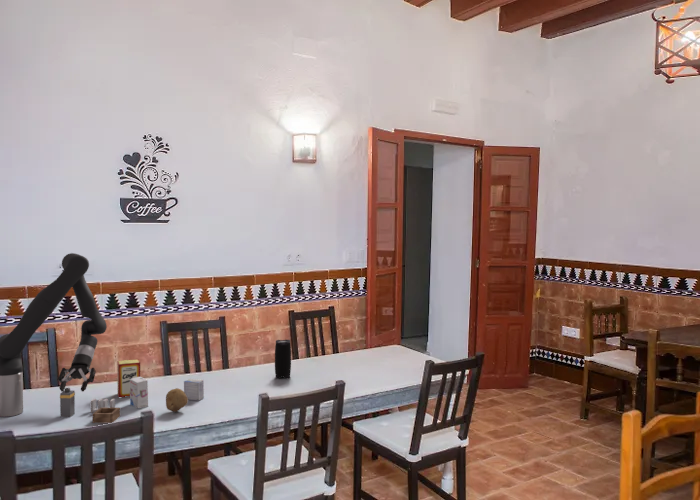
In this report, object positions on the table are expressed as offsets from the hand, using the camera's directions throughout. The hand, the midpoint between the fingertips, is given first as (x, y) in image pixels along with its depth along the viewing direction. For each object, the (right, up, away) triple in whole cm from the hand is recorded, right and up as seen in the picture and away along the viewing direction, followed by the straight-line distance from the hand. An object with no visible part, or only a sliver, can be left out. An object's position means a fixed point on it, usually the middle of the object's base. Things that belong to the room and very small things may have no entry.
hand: (71, 390), depth 233 cm
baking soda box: (+14, -9, +26) cm, 31 cm away
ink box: (+24, -9, +10) cm, 28 cm away
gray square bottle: (0, -10, -4) cm, 10 cm away
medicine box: (+46, -9, +20) cm, 51 cm away
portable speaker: (+82, -8, +59) cm, 102 cm away
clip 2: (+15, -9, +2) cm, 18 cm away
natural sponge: (+44, -10, +2) cm, 45 cm away
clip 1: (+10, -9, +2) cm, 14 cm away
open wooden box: (+18, -10, -8) cm, 22 cm away
